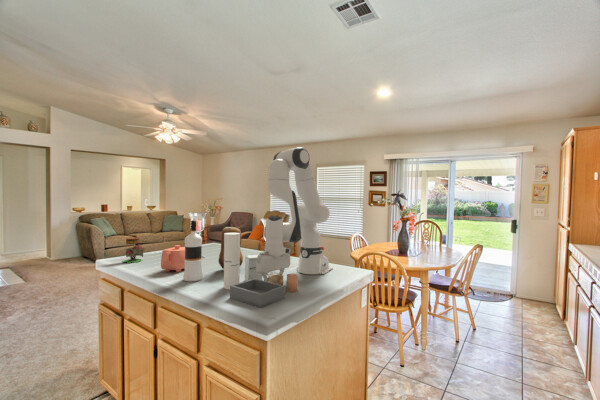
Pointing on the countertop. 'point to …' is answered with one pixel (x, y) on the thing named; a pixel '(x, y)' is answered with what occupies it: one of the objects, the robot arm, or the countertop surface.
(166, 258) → the teapot
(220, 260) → the butternut squash
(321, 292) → the countertop surface
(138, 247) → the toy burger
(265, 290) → the tote
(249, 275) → the supplement box
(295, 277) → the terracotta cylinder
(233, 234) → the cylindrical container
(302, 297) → the countertop surface
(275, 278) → the oak cube
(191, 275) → the vodka
